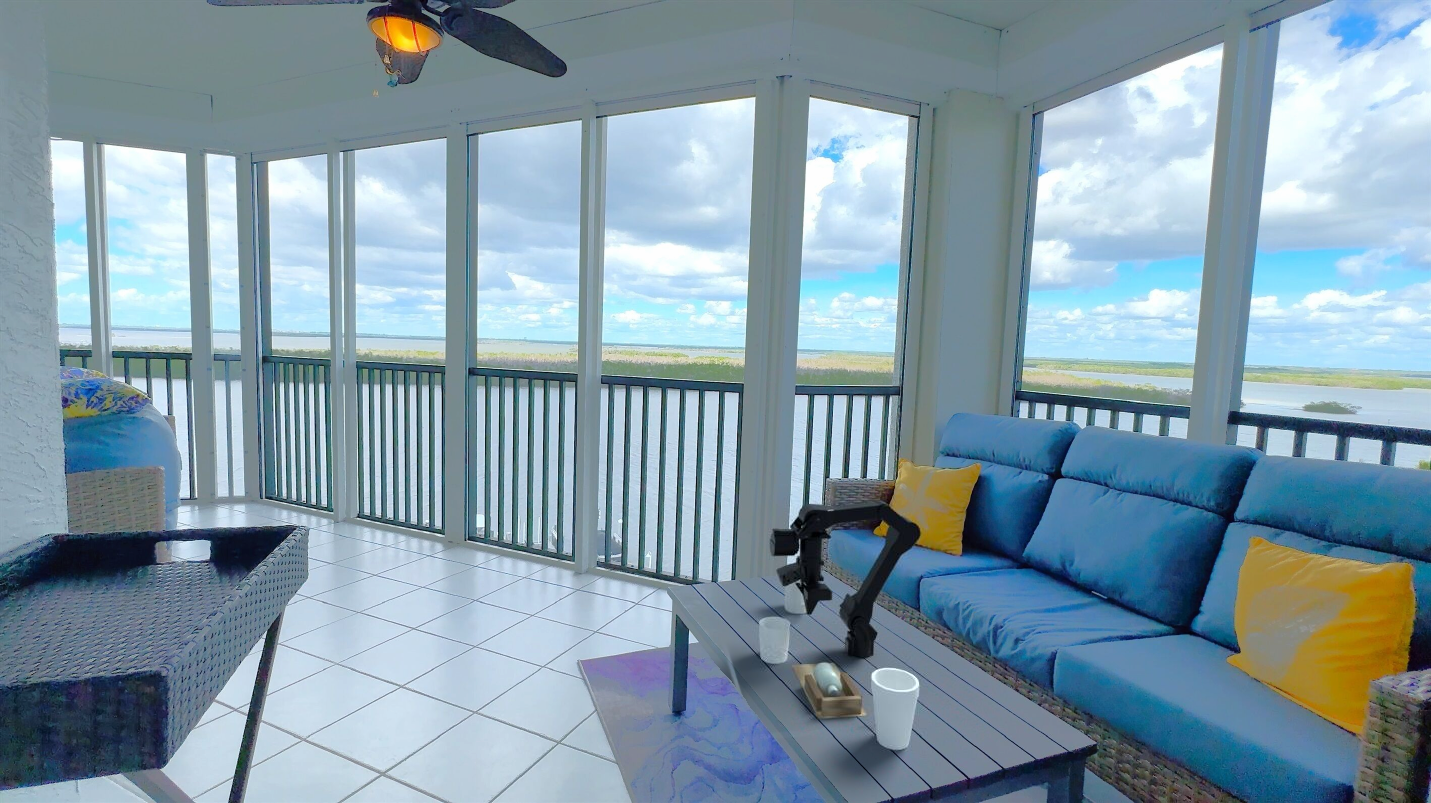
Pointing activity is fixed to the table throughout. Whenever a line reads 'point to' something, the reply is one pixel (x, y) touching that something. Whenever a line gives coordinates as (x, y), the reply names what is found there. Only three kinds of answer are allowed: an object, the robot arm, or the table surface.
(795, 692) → the table surface
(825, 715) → the cradle board
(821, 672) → the bottle
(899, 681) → the foam cup
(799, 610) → the mug
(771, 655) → the white cup
